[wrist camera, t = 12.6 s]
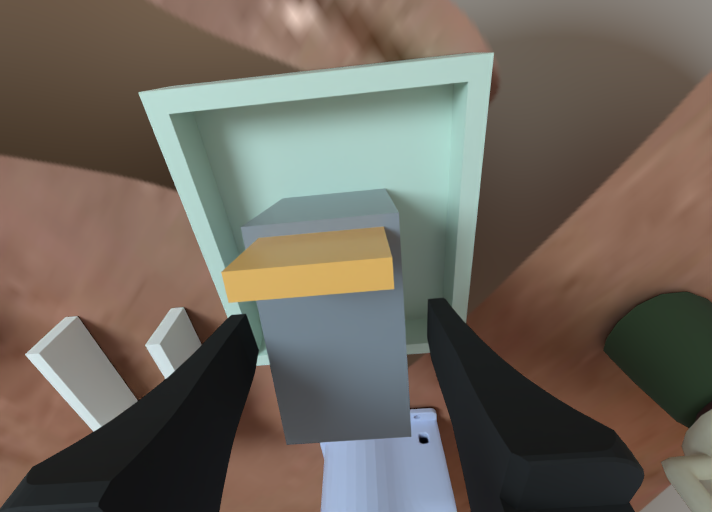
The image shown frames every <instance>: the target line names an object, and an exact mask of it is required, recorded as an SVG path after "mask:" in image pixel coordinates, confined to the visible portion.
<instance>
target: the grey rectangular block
mask: <svg viewBox="0 0 712 512" xmlns="http://www.w3.org/2000/svg"><path fill="white" fill-rule="evenodd" d="M241 231H242V236H243V241H244V245H245V251H244V252H243V253H241V254H240V255H239V256H238V257H237V258H236V259H235V260H234V261H233V262H232V263H231V264H229V265H228V266H227V267H226V268H225V269H224V270H223V271H222V272H221V274H222V278H223V282H224V286H225V290H226V294H227V298H228V303H233V302H245V301H256V302H257V307H258V311H259V316H260V321H261V325H262V330H263V335H264V340H265V344H266V349H267V354H268V359H269V363H270V368H271V373H272V377H273V382H274V387H275V392H276V396H277V401H278V406H279V410H280V415H281V420H282V425H283V429H284V434H285V439H286V443H287V445H290V444H306V443H322V442H337V441H353V440H369V439H385V438H400V437H411V419H410V402H409V384H408V366H407V348H406V331H405V313H404V295H403V277H402V260H401V242H400V224H399V212H398V210H397V208H396V207H395V205H394V203H393V201H392V199H391V198H390V196H389V194H388V192H387V191H386V189H385V188H384V189H373V190H363V191H353V192H342V193H332V194H321V195H311V196H300V197H290V198H282V199H281V200H279V201H278V202H277V203H275V204H274V205H272V206H271V207H269V208H268V209H266V210H265V211H263V212H262V213H261V214H259V215H258V216H256V217H255V218H253V219H252V220H250V221H249V222H247V223H246V224H245V225H243V226H242V227H241Z"/></svg>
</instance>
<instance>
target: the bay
mask: <svg viewBox="0 0 712 512" xmlns="http://www.w3.org/2000/svg"><path fill="white" fill-rule="evenodd" d="M201 345H202V344H201V342H200V340H199V338H198V336H197V334H196V332H195V330H194V328H193V326H192V323H191V321H190V319H189V317H188V315H187V313H186V311H185V309H184V307H182V308H171V309H170V311H169V312H168V314H167V315H166V316H165V318H164V319H163V321H162V322H161V323H160V325H159V326H158V328H157V329H156V331H155V332H154V333H153V335H152V336H151V338H150V339H149V340H148V342H147V343H146V345H145V346H146V347H147V349H148V351H149V352H150V354H151V356H152V357H153V359H154V361H155V362H156V364H157V366H158V367H159V369H160V370H161V372H162V374H163V375H164V377H165V379H166V378H167V377H169V376H170V375H171V374H172V373H173V372H174V371H175V370H176V369H177V368H178V367H179V366H181V365H182V364H183V363H184V362H185V361H186V360H187V359H188V358H189V357H190V356H191V355H192V354H193V353H194V352H195V351H196V350H197V349H198V348H199V347H200V346H201ZM25 355H26V356H27V357H28V359H29V360H30V361H31V362H32V363H33V364H34V365H35V366H36V368H37V369H38V370H39V371H40V372H41V373H42V374H43V375H44V377H45V378H46V379H47V380H48V381H49V382H50V383H51V384H52V385H53V387H54V388H55V389H56V390H57V391H58V392H59V393H60V394H61V396H62V397H63V398H64V399H65V400H66V401H67V402H68V403H69V405H70V406H71V407H72V408H73V409H74V410H75V411H76V412H77V413H78V415H79V416H80V417H81V418H82V419H83V420H84V421H85V422H86V424H87V425H88V426H89V427H90V428H91V429H92V430H93V431H95V430H97V429H99V428H100V427H102V426H103V425H105V424H106V423H108V422H109V421H111V420H112V419H114V418H115V417H117V416H118V415H119V414H121V413H122V412H124V411H125V410H126V409H128V408H129V407H131V406H132V405H133V404H135V403H136V402H137V401H138V400H137V399H136V398H135V396H134V395H133V393H132V392H131V391H130V389H129V388H128V386H127V385H126V384H125V382H124V381H123V379H122V378H121V377H120V375H119V374H118V372H117V371H116V369H115V368H114V367H113V365H112V364H111V362H110V361H109V360H108V358H107V357H106V355H105V354H104V353H103V351H102V350H101V348H100V347H99V346H98V344H97V343H96V341H95V340H94V339H93V337H92V336H91V334H90V333H89V332H88V330H87V329H86V327H85V326H84V324H83V323H82V322H81V320H80V319H79V317H78V316H73V317H65V318H64V319H63V320H62V321H61V322H59V323H58V324H57V325H56V326H55V327H54V328H53V329H52V330H51V331H50V332H49V333H48V334H47V335H45V336H44V337H43V338H42V339H41V340H40V341H39V342H38V343H37V344H36V345H35V346H34V347H32V348H31V349H30V350H29V351H28V352H27V353H26V354H25Z"/></svg>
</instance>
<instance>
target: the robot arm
mask: <svg viewBox="0 0 712 512" xmlns="http://www.w3.org/2000/svg"><path fill="white" fill-rule="evenodd" d="M427 340H428V345H429V350H430V355H431V359H432V363H433V366H434V369H435V372H436V376H437V379H438V382H439V385H440V388H441V391H442V394H443V397H444V400H445V403H446V406H447V409H448V412H449V415H450V419H451V422H452V426H453V430H454V434H455V439H456V443H457V448H458V452H459V457H460V461H461V466H462V470H463V475H464V480H465V484H466V489H467V494H468V499H469V504H470V509H471V512H635V511H634V509H633V508H632V506H631V505H630V503H629V502H630V500H631V499H632V497H633V496H634V494H635V493H636V492H637V490H638V489H639V487H640V486H641V484H642V481H643V479H644V471H643V468H642V467H641V465H640V464H639V462H638V461H637V460H636V458H635V457H634V455H633V454H632V452H631V451H630V450H629V448H628V447H627V446H626V444H625V443H624V442H623V441H622V440H621V438H620V437H619V436H618V435H617V433H616V432H615V431H614V430H612V429H611V428H609V427H607V426H605V425H603V424H601V423H599V422H597V421H595V420H594V419H592V418H590V417H588V416H586V415H584V414H582V413H580V412H579V411H577V410H575V409H573V408H572V407H570V406H568V405H567V404H565V403H563V402H562V401H560V400H558V399H557V398H555V397H554V396H552V395H551V394H549V393H548V392H546V391H545V390H543V389H542V388H540V387H539V386H537V385H536V384H534V383H533V382H531V381H530V380H528V379H527V378H526V377H524V376H523V375H522V374H520V373H519V372H518V371H516V370H515V369H514V368H513V367H512V366H510V365H509V364H508V363H507V362H505V361H504V360H503V359H502V358H501V357H500V356H498V355H497V354H496V353H495V352H494V351H493V350H492V349H491V348H490V347H489V346H488V345H487V344H485V343H484V342H483V341H482V340H481V339H480V338H479V337H478V336H477V335H476V333H475V332H474V331H473V330H472V329H471V328H470V327H469V326H468V325H467V324H466V323H465V322H464V321H463V319H462V318H461V317H460V316H459V315H458V314H457V313H456V311H455V310H454V309H453V308H452V306H451V305H450V304H449V303H448V301H447V300H446V299H445V298H433V299H428V313H427ZM258 353H259V349H258V346H257V343H256V340H255V337H254V335H253V332H252V329H251V326H250V323H249V320H248V318H247V315H246V314H236V315H231V316H230V317H229V318H227V319H226V320H225V321H224V323H223V324H222V325H221V326H220V327H219V328H218V329H217V330H216V331H215V332H214V333H213V334H212V335H211V336H210V337H209V338H208V339H207V340H206V341H205V342H204V343H203V344H202V345H201V346H200V347H199V348H198V349H197V350H196V351H195V352H194V353H193V354H192V355H191V356H190V357H189V358H188V359H187V360H186V361H185V362H184V363H183V364H182V365H181V366H179V367H178V368H177V369H176V370H175V371H174V372H173V373H172V374H171V375H170V376H169V377H167V378H166V379H165V380H164V381H163V382H162V383H160V384H159V385H158V386H157V387H155V388H154V389H153V390H152V391H151V392H149V393H148V394H147V395H145V396H144V397H143V398H142V399H140V400H139V401H137V402H136V403H135V404H133V405H132V406H131V407H129V408H128V409H126V410H125V411H124V412H122V413H121V414H119V415H118V416H117V417H115V418H114V419H112V420H111V421H109V422H108V423H106V424H105V425H103V426H102V427H100V428H99V429H97V430H95V431H94V432H92V433H91V434H89V435H87V436H86V437H84V438H83V439H81V440H79V441H78V442H76V443H74V444H73V445H71V446H69V447H67V448H66V449H64V450H62V451H60V452H59V453H57V454H55V455H53V456H52V457H50V458H48V459H46V460H44V461H43V462H41V463H39V464H37V465H35V466H33V467H32V468H31V470H30V471H29V472H28V473H27V475H26V476H25V477H24V479H23V480H22V481H21V482H20V484H19V485H18V486H17V488H16V489H15V490H14V491H13V493H12V494H11V495H10V497H9V498H8V499H7V500H6V502H5V503H4V504H3V506H2V507H1V508H0V512H219V510H220V504H221V498H222V493H223V488H224V483H225V478H226V473H227V468H228V463H229V458H230V454H231V449H232V445H233V441H234V437H235V433H236V430H237V427H238V424H239V421H240V417H241V414H242V411H243V408H244V405H245V402H246V399H247V396H248V393H249V390H250V387H251V384H252V381H253V377H254V374H255V369H256V364H257V358H258ZM410 419H411V437H400V438H385V439H369V440H353V441H337V442H322V443H320V445H321V449H322V452H323V456H324V473H323V488H322V502H321V512H457V508H456V503H455V499H454V494H453V490H452V486H451V481H450V477H449V472H448V468H447V463H446V458H445V454H444V451H443V446H442V442H441V437H440V433H439V429H438V424H437V414H436V410H435V409H433V408H422V409H410Z"/></svg>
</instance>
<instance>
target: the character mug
mask: <svg viewBox="0 0 712 512" xmlns="http://www.w3.org/2000/svg"><path fill="white" fill-rule="evenodd" d="M603 351H604V352H605V353H606V354H607V355H608V356H609V357H610V358H611V359H612V360H613V361H614V362H615V363H616V364H617V365H618V366H619V367H620V368H621V370H622V371H623V372H624V373H625V374H626V375H627V376H628V377H629V378H630V379H631V380H632V381H633V382H634V383H635V384H636V385H638V386H639V387H640V388H641V389H642V390H643V391H644V392H645V393H646V394H647V395H648V396H650V397H651V398H652V399H653V400H654V401H655V402H656V403H657V404H658V405H659V406H660V407H662V408H663V409H664V410H665V411H666V412H667V413H668V414H669V415H670V416H671V417H672V418H674V419H675V420H676V421H677V422H679V423H681V424H683V425H684V426H686V427H688V428H689V429H688V430H687V432H686V434H685V437H684V440H683V443H682V449H683V452H684V455H685V456H679V457H670V458H667V459H666V460H664V461H662V462H661V463H662V466H663V469H664V471H665V474H666V476H667V478H668V480H669V481H670V483H671V484H672V485H673V487H674V488H675V490H676V491H677V492H678V494H679V495H680V496H681V498H682V499H683V500H684V502H685V503H686V505H687V506H688V507H689V509H690V510H691V511H692V512H712V303H711V302H710V301H709V300H708V299H706V298H703V297H701V296H698V295H695V294H692V293H689V292H678V293H668V294H661V295H659V296H656V297H654V298H652V299H650V300H648V301H646V302H644V303H642V304H640V305H637V306H636V307H635V308H634V309H633V310H631V311H630V312H629V313H628V314H627V315H626V316H624V317H623V318H622V319H621V320H620V321H619V322H618V323H617V324H616V326H615V327H614V328H613V330H612V331H611V333H610V334H609V336H608V337H607V339H606V342H605V346H604V350H603Z"/></svg>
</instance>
